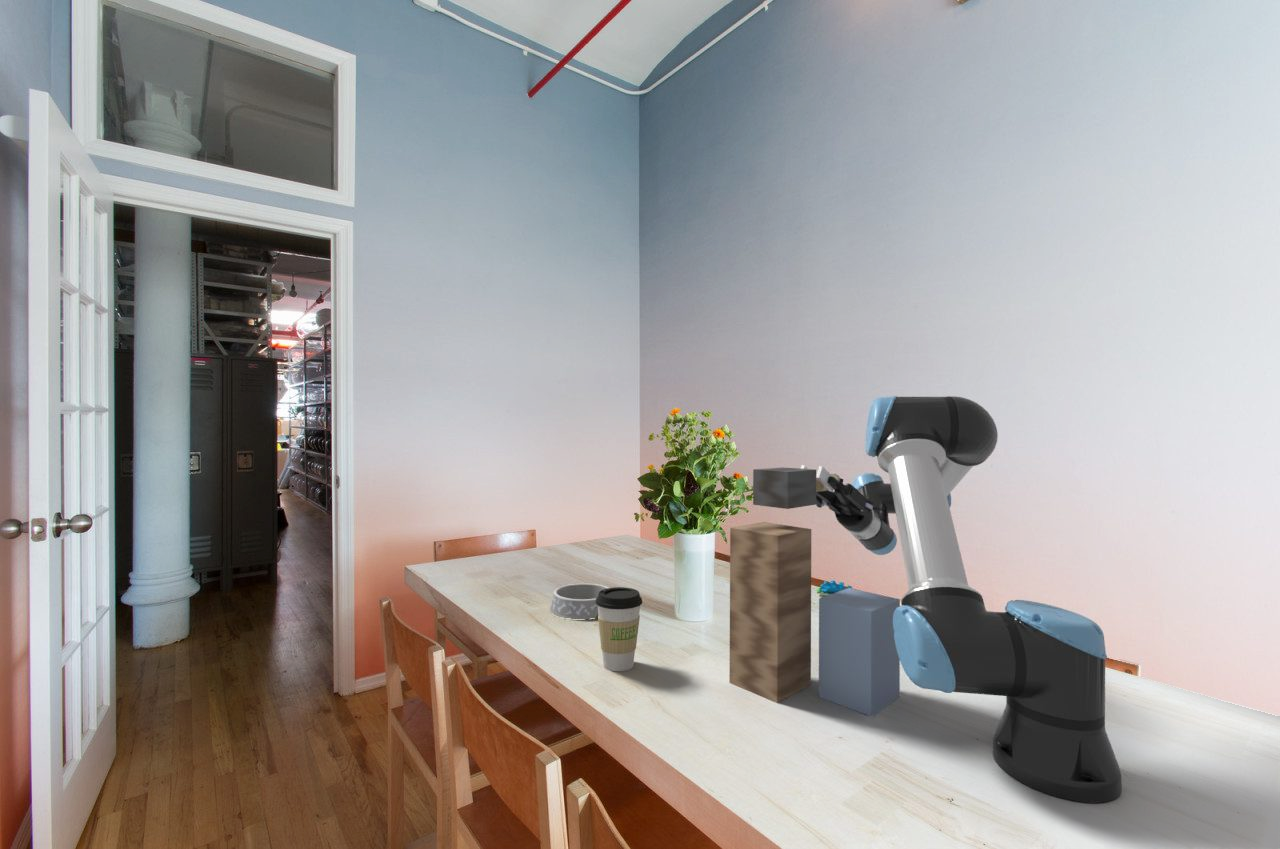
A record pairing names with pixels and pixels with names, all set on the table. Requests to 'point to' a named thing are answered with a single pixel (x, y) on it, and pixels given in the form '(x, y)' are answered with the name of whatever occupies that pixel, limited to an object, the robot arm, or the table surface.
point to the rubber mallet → (786, 487)
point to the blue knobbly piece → (831, 588)
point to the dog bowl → (576, 601)
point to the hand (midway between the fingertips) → (810, 471)
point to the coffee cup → (618, 626)
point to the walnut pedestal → (770, 609)
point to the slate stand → (858, 650)
